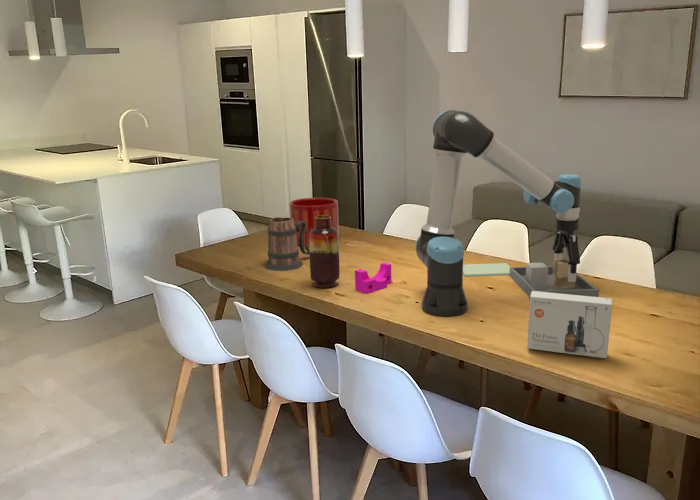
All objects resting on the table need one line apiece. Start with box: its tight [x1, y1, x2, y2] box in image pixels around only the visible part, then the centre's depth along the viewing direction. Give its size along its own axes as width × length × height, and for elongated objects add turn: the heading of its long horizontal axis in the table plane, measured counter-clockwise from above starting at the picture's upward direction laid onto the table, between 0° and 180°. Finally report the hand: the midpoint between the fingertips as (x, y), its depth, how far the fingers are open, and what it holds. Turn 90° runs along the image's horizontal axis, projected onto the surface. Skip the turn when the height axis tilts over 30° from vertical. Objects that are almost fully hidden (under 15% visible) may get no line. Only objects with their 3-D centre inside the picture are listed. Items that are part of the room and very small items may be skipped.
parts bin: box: [508, 265, 600, 298], centre depth 228 cm, size 30×22×4 cm
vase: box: [308, 215, 341, 289], centre depth 235 cm, size 11×11×26 cm
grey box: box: [525, 262, 548, 289], centre depth 227 cm, size 6×6×8 cm
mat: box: [463, 262, 511, 278], centre depth 250 cm, size 14×20×1 cm
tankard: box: [264, 216, 310, 272], centre depth 265 cm, size 24×17×20 cm
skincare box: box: [526, 291, 613, 359], centre depth 173 cm, size 21×6×16 cm, turn 69°
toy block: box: [354, 262, 392, 295], centre depth 233 cm, size 15×6×8 cm, turn 131°
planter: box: [288, 197, 340, 248], centre depth 300 cm, size 23×23×20 cm
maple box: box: [552, 258, 575, 288], centre depth 227 cm, size 6×6×9 cm
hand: (564, 276), depth 227 cm, fingers open, 13 cm apart
